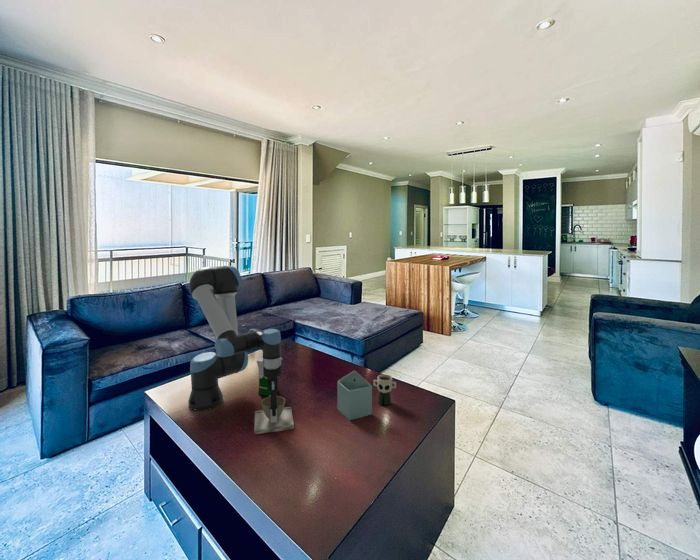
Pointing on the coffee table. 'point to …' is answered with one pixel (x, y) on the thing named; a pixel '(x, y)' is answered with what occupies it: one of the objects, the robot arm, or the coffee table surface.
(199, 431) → the coffee table surface
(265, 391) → the milk carton
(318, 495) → the coffee table surface
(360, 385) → the planter
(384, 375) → the character mug
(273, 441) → the coffee table surface
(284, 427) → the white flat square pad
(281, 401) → the flower pot
